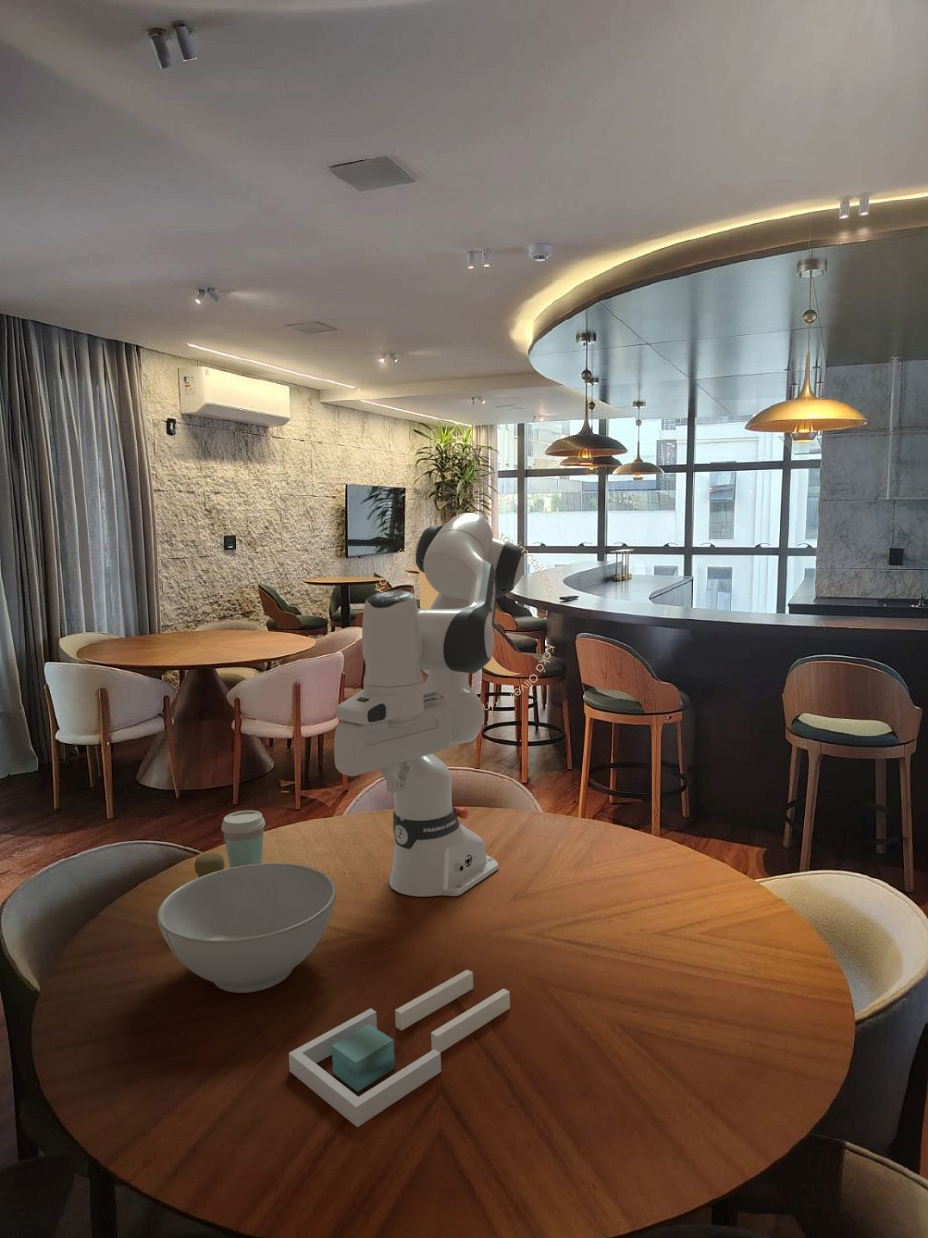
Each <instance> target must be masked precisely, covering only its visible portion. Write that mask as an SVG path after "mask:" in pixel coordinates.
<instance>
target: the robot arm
mask: <svg viewBox="0 0 928 1238" xmlns="http://www.w3.org/2000/svg"><path fill="white" fill-rule="evenodd" d="M414 554H415V564H416V566H417V568H418V570H419V571H420V572H421V573H424V574H425V577H426V580H427V581H428V584H429V585H430V586H431V587H432V589H434V590H435V591H436V592H437V593H438V594H437V596H436V597H435V599H434V601H433V603H432V605H431V606H430V608H419V607H418V603H417V602H418V601H417V599H416V595H415V594H414V593H412V592H410V591H406V590H387V591H386V590H385V591H381V592H377V593H375V594H373V595H370V596H369V597H368V598H367V599H365V603H364V608H363V613H362V623H361V624H362V625H361V629H362V630H361V650H362V651H361V653H362V656H363V660H364V664H365V673H364V676H363V689H361V690H360V691H358V692H356V693H355V694H354V695H353V696H351V697H349V698H348V699H347V698H346V700H344V701H343V702H340V703H339V704H338V705H336V707H335V716H336V718H337V719H338V720H341V721H340V722H339V723H338V724H337V726H336V728H335V731H334V744H333V745H334V748H333V749H334V750H333V752H334V753H333V754H334V755H333V757H334V765H335V768H336V769H337V771H338V772H339V773H340V774H343V775H346V776H349V777H355V776H360V775H363V774H366V773H370V772H373V771H376V770H379V773H380V774H381V775H382V777H383V778H384V780H385V781H386V784H385V785H386V791H387V792H388V793H390V794H393V797H394V798H393V801H394V810H393V812H392V828H393V829H392V831H393V837H394V850H393V861H392V869H391V873H390V878H389V883H388V884H389V886H390V887H391V889H392V890H394V891H396V892H397V893H399V894H403V895H406V896H411V897H436V896H448V897H458V896H460V895H462V894H464V893H465V892H466V891H468V890H469V889H471V888H472V887H474V886H476V884H479V883H480V882H481V881H483V880H484V879H486V878H487V877H489V876H490V875H492V874H494V873H495V872H496V871H497V870H499V863H498V862H497V860H495V858H493V857H491V856H489V855H487V851H486V846H485V842H484V840H483V839H482V838H481V836H479V835H478V834H477V833H475V832H474V831H472V830H470V829H468V828H467V827H465V826H464V825H463V824H461V823H460V822H459V818H460V819H463V820H466V819H467V818H468V816H469V813H470V812H469V809H467V808H464V807H462V806H459V807H457V808H456V807H455V806H453V804H452V803H453V802H452V776H451V775H452V774H451V772H450V770H449V768H448V767H449V766H447V764H446V763H445V762H444V761H442V760H441V759H439V757H437V756H436V755H435V754H437V753H439V752H443V751H446V750H449V748H450V746H451V745H458V744H466V743H470V742H472V741H474V740H475V739H476V738H477V736H479V734H480V732H481V731H482V728H483V726H484V721H485V709H484V706H483V703H482V701H481V699H480V697H479V696H478V695H477V693H476V692H474V690H473V689H472V687H471V685H470V683H469V678H468V674H476V673H477V672H479V671H480V670H482V669H483V668H484V667H486V665H488V663H489V662H490V661H491V660H492V658H493V657H492V656H493V652H494V648H495V634H494V626H495V617H496V616H495V615H496V607H497V599H498V598H501V597H504V596H507V595H508V594H509V593H511V592H513V590H514V589H515V587H516V586H517V585H518V583H519V582H520V580H521V579H522V577H523V576H522V575H523V573H524V568H525V567H524V566H525V565H524V556H523V555H524V554H523V551H522V549H521V547H519V546H517V545H516V544H514V543H512V542H510V541H507V540H506V542H505V541H503V540H501V539H498V538H495V537H494V535H493V529H492V528H491V525H490V524H489V523H488V521H487V520H486V519H485V518H484V517H482V516H480V515H478V514H476V513H472V512H463V513H460V514H459V513H458V514H457V515H454V516H453V517H452V518H451V519H449V520H448V521H447V522H446V523H445V524H444V525H442V524H441V525H439V524H437V525H431V526H429V527H427V528H425V529H424V530H423V531H422V534H421V535H420V536H419V538H418V540H417V543H416V546H415V553H414ZM422 671H423V672H424V673H425V674H427V678H426V680H425V681H424V677H423V673H422Z"/></svg>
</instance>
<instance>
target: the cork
mask: <svg viewBox="0 0 928 1238" xmlns="http://www.w3.org/2000/svg"><path fill="white" fill-rule="evenodd" d="M225 864H226V863H225V858H224V856H223V855H222V854H221V853H218V852H208V853H204V854H201V855H199V856H198V857H197V858H196V859H195V862H194V871H195V873H196V875H197V876H198V877H197V878H199V877H202V876H205V875H207V874H210V873H213V872H217V871H220V870H224V869H225Z"/></svg>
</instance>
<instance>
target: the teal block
mask: <svg viewBox="0 0 928 1238" xmlns="http://www.w3.org/2000/svg"><path fill="white" fill-rule="evenodd" d="M394 1041H395V1039H393V1038H392V1037H390V1036H388V1035H387V1034H385V1033H384V1032H382V1031H381V1030H379V1029H378V1028H377V1029H376V1028H375V1027H373V1026H372V1025H370V1024H368V1025H366V1026H365V1027H363V1028H361V1029H359V1030H358V1031H356V1032H354V1033H352V1034H351V1035H349V1036H347V1037H345V1038H344V1039H342V1040H340V1041H338V1042H337V1043H335V1044H333V1045H332V1055H331V1056H332V1057H331V1059H332V1074H333V1075H334V1076H335V1077H337V1078H338V1079H340V1080H341V1081H343V1082H344V1083H345V1084H347V1085H348V1086H349V1087H350V1088H352V1089H353V1090H354V1091H356V1092H357V1093H358V1092H360V1091H361V1090H363V1089H364V1088H366V1087H368V1086H370V1085H371V1084H373V1083H374V1082H376V1081H377V1080H378V1079H380V1078H382V1077H383V1076H385V1075H386V1074H388V1073H389V1072H391V1071H393V1070H394V1069H396V1063H395V1062H396V1061H395V1042H394Z"/></svg>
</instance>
